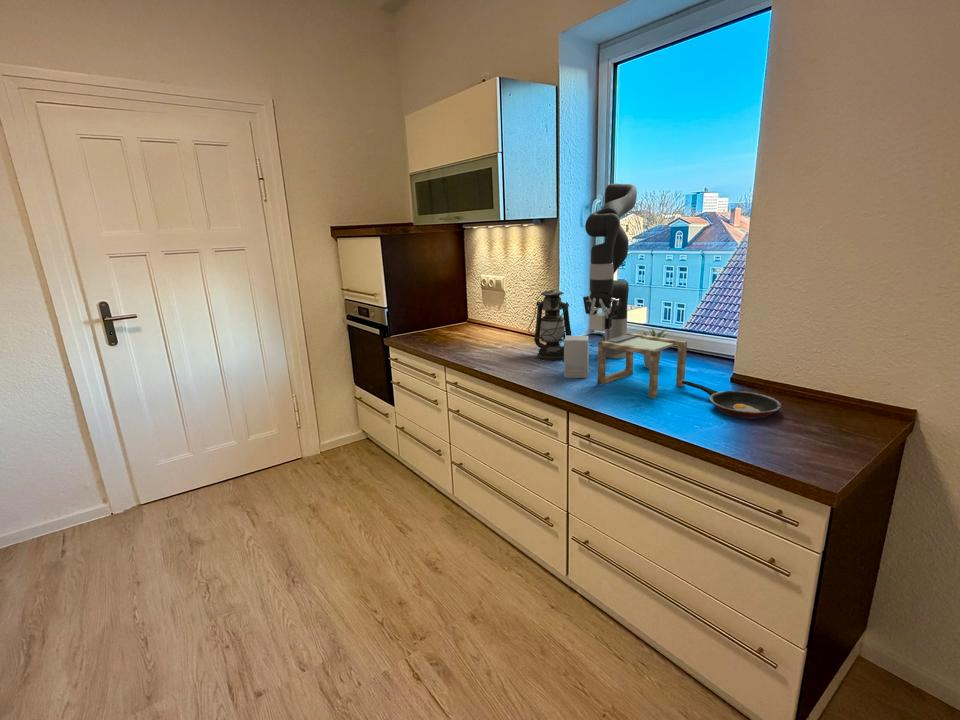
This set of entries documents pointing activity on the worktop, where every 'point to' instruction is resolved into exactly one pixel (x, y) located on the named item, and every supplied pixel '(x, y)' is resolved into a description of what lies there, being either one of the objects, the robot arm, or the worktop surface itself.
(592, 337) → the worktop surface
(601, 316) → the cube
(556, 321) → the lantern
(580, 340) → the supplement box
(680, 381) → the frame
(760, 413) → the frying pan
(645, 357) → the house plant
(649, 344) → the trapdoor
